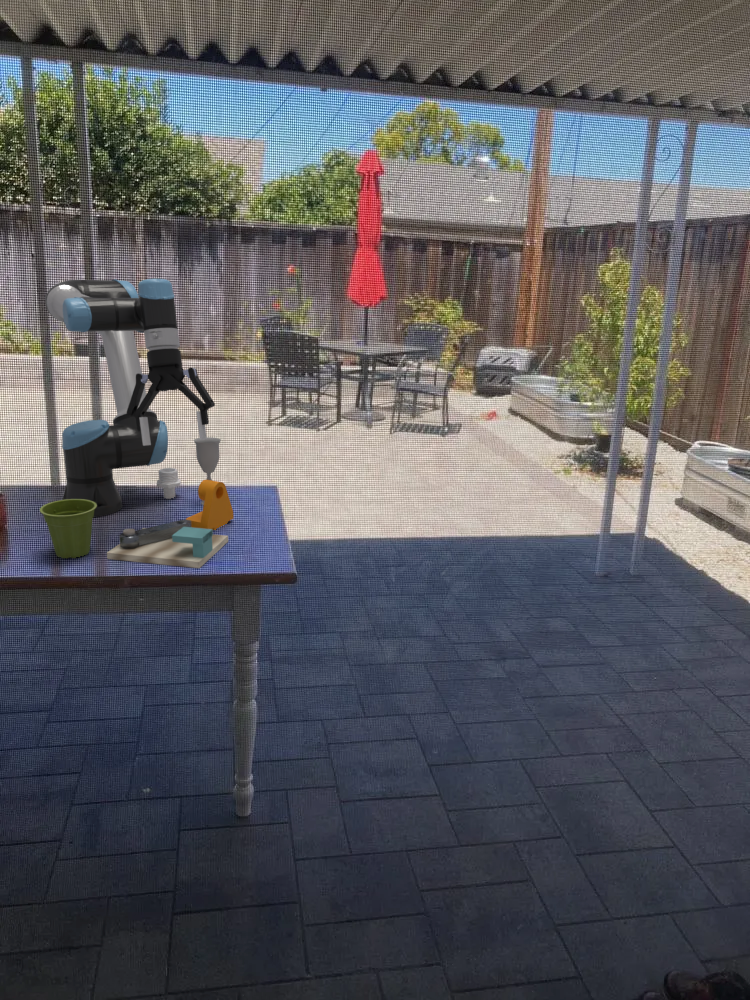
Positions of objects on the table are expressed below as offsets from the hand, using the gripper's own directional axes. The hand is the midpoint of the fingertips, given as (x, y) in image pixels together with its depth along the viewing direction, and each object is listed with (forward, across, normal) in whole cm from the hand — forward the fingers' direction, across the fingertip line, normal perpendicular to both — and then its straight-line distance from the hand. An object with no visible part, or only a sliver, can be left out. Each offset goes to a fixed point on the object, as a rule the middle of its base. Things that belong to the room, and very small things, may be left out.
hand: (175, 442), depth 171 cm
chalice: (+18, -6, +34) cm, 39 cm away
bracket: (+22, 0, +17) cm, 28 cm away
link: (+22, -8, +1) cm, 23 cm away
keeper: (+25, +3, -5) cm, 26 cm away
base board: (+25, -4, -1) cm, 25 cm away
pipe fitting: (+15, -18, +37) cm, 44 cm away
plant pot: (+23, -24, -7) cm, 34 cm away
